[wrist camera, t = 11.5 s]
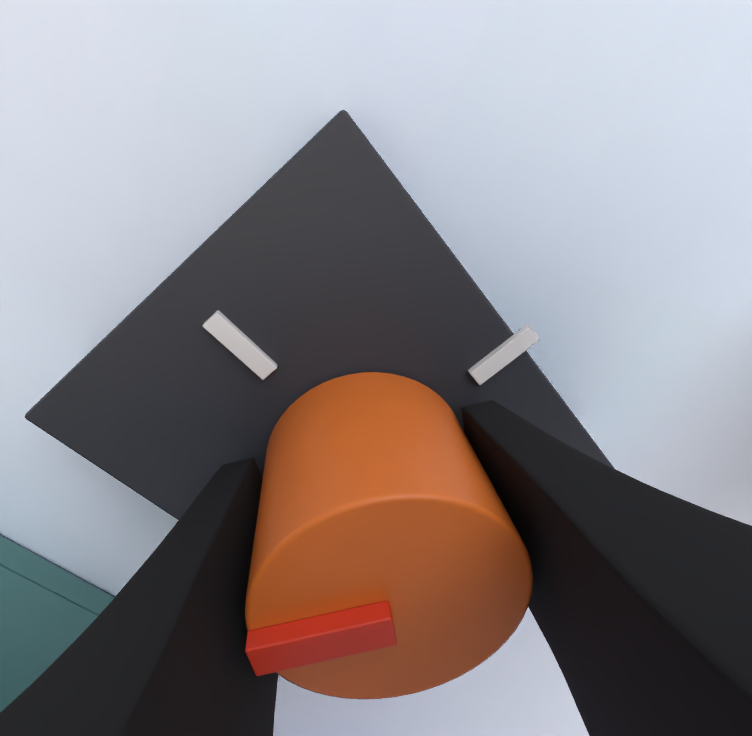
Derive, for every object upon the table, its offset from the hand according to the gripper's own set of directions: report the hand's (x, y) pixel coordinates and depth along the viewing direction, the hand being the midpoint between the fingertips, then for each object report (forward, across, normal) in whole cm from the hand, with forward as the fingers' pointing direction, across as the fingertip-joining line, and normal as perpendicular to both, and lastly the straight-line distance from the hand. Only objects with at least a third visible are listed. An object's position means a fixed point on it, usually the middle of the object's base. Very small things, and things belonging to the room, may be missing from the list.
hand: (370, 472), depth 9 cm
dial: (0, 0, 0) cm, 0 cm away
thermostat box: (+3, 0, 0) cm, 3 cm away
